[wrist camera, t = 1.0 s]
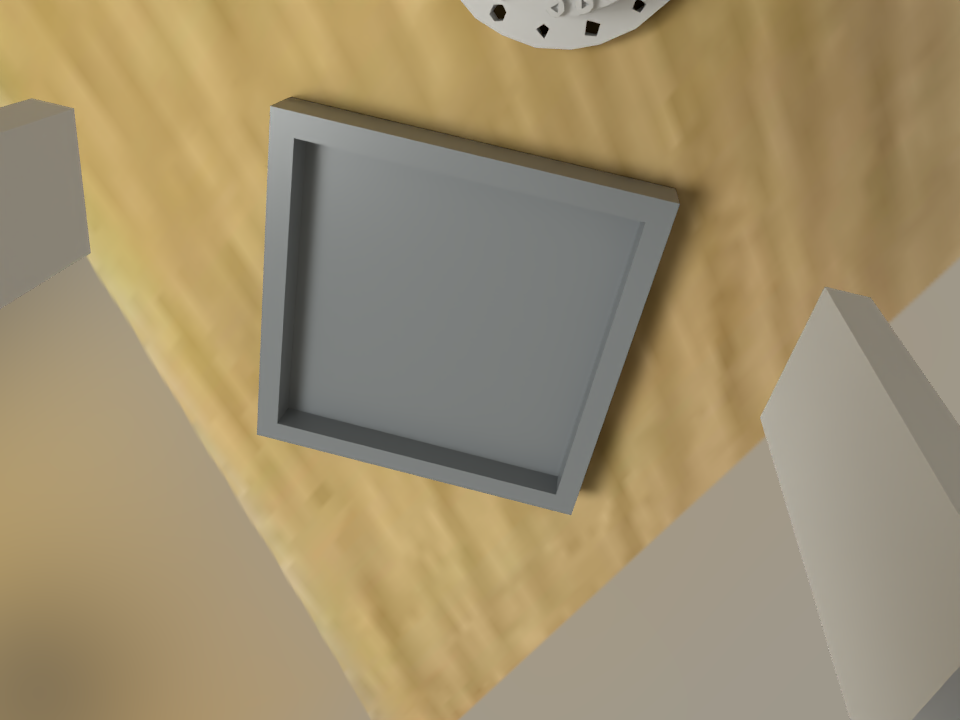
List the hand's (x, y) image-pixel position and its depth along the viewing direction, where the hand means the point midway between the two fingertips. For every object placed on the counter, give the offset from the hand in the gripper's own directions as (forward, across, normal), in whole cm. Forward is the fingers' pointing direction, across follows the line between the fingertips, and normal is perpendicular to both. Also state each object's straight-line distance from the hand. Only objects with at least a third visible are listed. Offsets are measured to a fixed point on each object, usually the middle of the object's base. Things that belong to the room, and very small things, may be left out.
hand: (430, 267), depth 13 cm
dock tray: (+17, -2, -11) cm, 20 cm away
